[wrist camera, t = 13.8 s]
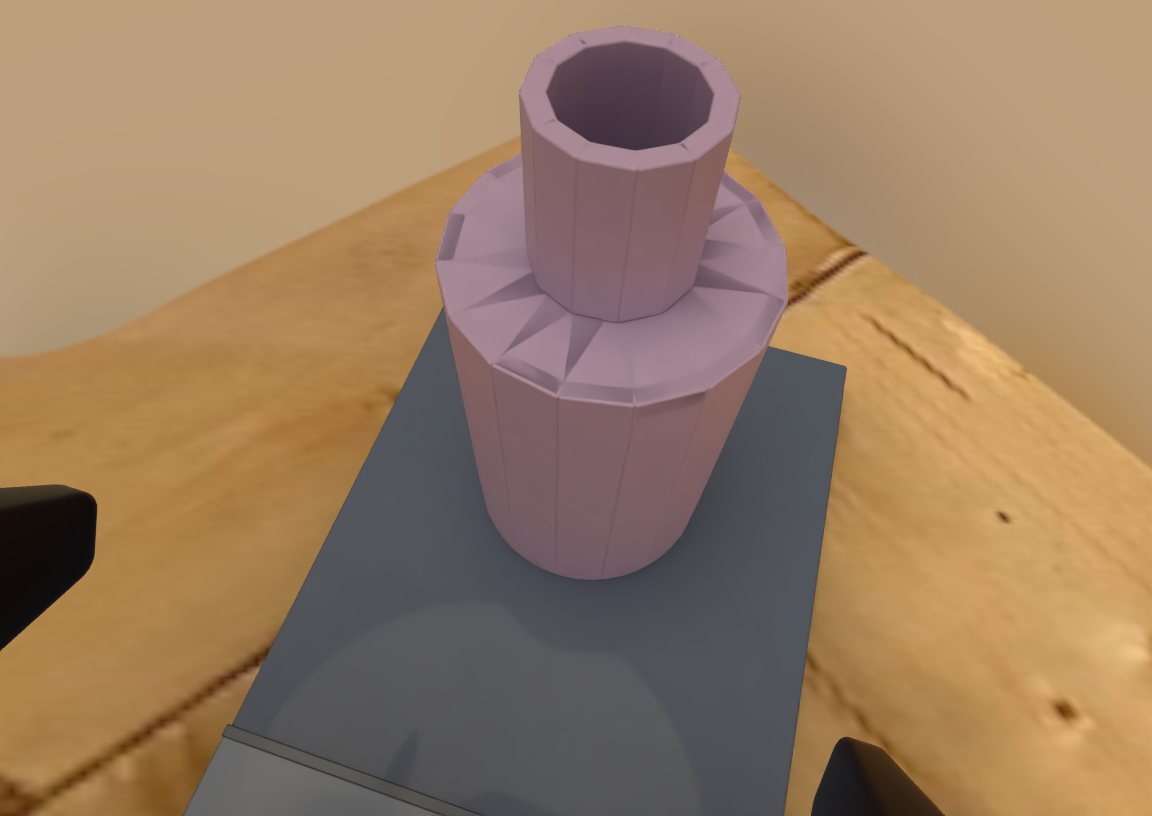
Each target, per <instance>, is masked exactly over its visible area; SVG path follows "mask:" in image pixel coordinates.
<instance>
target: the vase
mask: <svg viewBox="0 0 1152 816" xmlns="http://www.w3.org/2000/svg"><path fill="white" fill-rule="evenodd" d="M519 92H520V93H519V102H520V124H521V146H522V152H521V153H519V154H517V155H516V156H514V157H512V158H510V159H508V160H506V161H504V162H502V163H500V164H498V165H496V166H494V167H492V168H490V169H488V170H487V171H486V172H484V173H483V174H482V175H481V176H480V177H479V178H478V180H477V181H476V182H475V183H474V184H473V185H472V186H471V187H470V189H469V190H468V191H467V192H466V193H465V194H464V195H463V196H462V197H461V199H460V200H459V201H458V202H457V203H456V204H455V205H454V206H453V208H452V209H451V210H450V212H449V213H448V216H447V220H446V224H445V227H444V231H443V235H442V238H441V242H440V245H439V249H438V253H437V256H436V260H435V268H436V273H437V277H438V282H439V287H440V292H441V297H442V301H443V306H444V311H445V316H446V321H447V325H448V330H449V335H450V340H451V344H452V349H453V354H454V359H455V364H456V368H457V373H458V378H459V383H460V388H461V392H462V397H463V402H464V407H465V412H466V416H467V421H468V426H469V431H470V435H471V440H472V445H473V450H474V455H475V459H476V464H477V469H478V474H479V478H480V482H481V487H482V491H483V495H484V500H485V503H486V507H487V511H488V514H489V516H490V517H491V519H492V521H493V523H494V525H495V527H496V528H497V530H498V531H499V533H500V534H501V536H502V537H503V539H504V540H505V541H506V542H507V543H508V544H509V545H510V546H511V547H512V548H513V549H514V550H515V551H516V552H517V553H518V554H520V555H521V556H522V557H523V558H525V559H526V560H528V561H529V562H531V563H532V564H534V565H536V566H538V567H540V568H542V569H544V570H546V571H548V572H551V573H554V574H557V575H560V576H564V577H569V578H574V579H584V580H600V579H610V578H615V577H620V576H624V575H627V574H630V573H632V572H635V571H638V570H640V569H642V568H644V567H646V566H648V565H649V564H651V563H652V562H654V561H655V560H657V559H658V558H660V557H661V556H662V555H663V554H664V553H666V552H667V551H668V550H669V549H670V548H671V547H672V546H673V545H674V543H675V542H676V541H677V540H678V539H679V538H680V536H681V535H682V533H683V531H684V529H685V528H686V526H687V524H688V522H689V520H690V518H691V516H692V514H693V512H694V510H695V508H696V506H697V504H698V502H699V499H700V497H701V495H702V493H703V490H704V488H705V486H706V484H707V482H708V479H709V477H710V475H711V473H712V470H713V468H714V466H715V464H716V461H717V459H718V457H719V455H720V453H721V450H722V448H723V446H724V444H725V441H726V439H727V437H728V435H729V432H730V430H731V428H732V426H733V424H734V421H735V419H736V417H737V415H738V412H739V410H740V408H741V406H742V403H743V401H744V399H745V397H746V394H747V392H748V390H749V388H750V386H751V383H752V381H753V379H754V377H755V374H756V372H757V370H758V368H759V365H760V363H761V361H762V359H763V357H764V354H765V352H766V350H767V348H768V345H769V343H770V341H771V339H772V336H773V334H774V332H775V330H776V328H777V325H778V323H779V321H780V319H781V316H782V314H783V312H784V310H785V307H786V305H787V303H788V277H787V255H786V247H785V244H784V242H783V240H782V238H781V237H780V235H779V233H778V231H777V230H776V228H775V226H774V224H773V223H772V221H771V219H770V217H769V216H768V214H767V212H766V210H765V208H764V207H763V205H762V203H761V201H760V200H758V198H757V197H756V196H755V195H754V194H752V193H751V192H750V191H749V190H747V189H746V188H745V187H744V186H742V185H741V184H740V183H739V182H737V181H736V180H735V179H734V178H732V177H731V176H730V175H729V174H727V173H726V172H725V171H724V167H725V163H726V159H727V155H728V152H729V148H730V144H731V140H732V136H733V132H734V128H735V123H736V118H737V113H738V108H739V103H740V98H741V97H740V92H739V90H738V88H737V87H736V85H735V84H734V82H733V80H732V79H731V77H730V75H729V74H728V72H727V70H726V69H725V67H724V66H723V64H722V62H721V61H720V60H718V58H717V57H715V56H714V55H712V54H710V53H708V52H707V51H705V50H703V49H701V48H700V47H698V46H696V45H694V44H693V43H691V42H689V41H687V40H686V39H684V38H682V37H681V36H676V35H675V34H671V33H665V32H660V31H654V30H648V29H642V28H637V27H630V26H625V27H624V26H617V27H611V28H604V29H597V30H590V31H583V32H577V33H575V34H571V35H569V36H568V37H566V38H564V39H563V40H561V41H559V42H558V43H556V44H555V45H553V46H551V47H549V48H548V49H546V50H545V51H543V52H541V53H539V54H538V55H537V56H536V57H535V58H534V59H533V62H532V64H531V66H530V68H529V70H528V73H527V75H526V77H525V80H524V82H523V84H522V86H521V88H520V91H519Z"/></svg>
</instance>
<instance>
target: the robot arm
mask: <svg viewBox="0 0 1152 816" xmlns="http://www.w3.org/2000/svg"><path fill="white" fill-rule="evenodd" d="M96 521H97V504H96V501H95V499H94V497H93V496H92V495H91V494H89V493H87V492H84V491H81V490H78V489H74V488H71V487H68V486H65V485H40V486H26V487H11V488H0V651H1V650H2V649H3V648H4V647H5V646H6V645H7V644H8V643H10V642H11V641H12V640H13V639H14V638H15V637H16V636H17V635H18V634H20V633H21V632H22V631H23V630H24V629H25V628H26V627H27V626H29V625H30V624H31V623H32V622H33V621H34V620H35V619H36V618H37V617H39V616H40V615H41V614H42V613H43V612H44V611H45V610H46V609H47V608H49V607H50V606H51V605H52V604H53V603H54V602H55V601H56V600H57V599H59V598H60V597H61V596H62V595H63V594H64V593H65V592H66V591H67V590H69V589H70V588H71V587H72V586H73V585H74V584H75V583H76V582H78V581H79V580H80V579H81V578H82V577H83V576H84V575H85V574H86V572H87V571H88V570H89V568H90V566H91V564H92V562H93V559H94V554H95V538H96ZM811 816H945V815H944V814H943V813H942V812H941V811H940V810H939V809H938V808H937V806H936V805H935V804H934V803H933V802H932V801H931V800H930V799H929V798H928V797H927V796H926V795H925V794H924V793H923V792H922V790H921V789H920V788H919V787H918V786H917V785H916V784H915V783H914V782H913V781H912V780H911V779H910V778H909V777H908V775H907V774H906V773H905V772H904V771H903V770H902V769H901V768H900V767H899V766H898V765H897V764H896V763H895V762H894V760H893V759H892V758H891V757H890V756H889V755H888V754H887V753H886V752H885V751H884V750H883V749H881V748H880V747H878V746H875V745H872V744H869V743H866V742H862V741H859V740H856V739H853V738H850V737H844V738H842V739H840V740H839V741H838V742H837V744H836V745H835V747H834V750H833V752H832V755H831V757H830V760H829V762H828V765H827V767H826V770H825V772H824V775H823V777H822V780H821V782H820V785H819V788H818V790H817V793H816V795H815V798H814V802H813V807H812V813H811Z"/></svg>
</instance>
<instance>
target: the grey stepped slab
mask: <svg viewBox="0 0 1152 816" xmlns="http://www.w3.org/2000/svg"><path fill="white" fill-rule="evenodd" d="M846 370H847V368H846V366H843V365H839V364H835V363H831V362H827V361H823V360H820V359H816V358H812V357H808V356H804V355H800V354H796V353H793V352H789V351H785V350H781V349H777V348H773V347H770V346H768V348H767V350H766V352H765V354H764V357H763V359H762V361H761V363H760V365H759V368H758V370H757V372H756V374H755V377H754V379H753V381H752V383H751V386H750V388H749V390H748V392H747V394H746V397H745V399H744V401H743V403H742V406H741V408H740V410H739V412H738V415H737V417H736V419H735V421H734V424H733V426H732V428H731V430H730V432H729V435H728V437H727V439H726V441H725V444H724V446H723V448H722V450H721V453H720V455H719V457H718V459H717V461H716V464H715V466H714V468H713V470H712V473H711V475H710V477H709V479H708V482H707V484H706V486H705V488H704V490H703V493H702V495H701V497H700V499H699V502H698V504H697V506H696V508H695V510H694V512H693V514H692V516H691V518H690V520H689V522H688V524H687V526H686V528H685V529H684V531H683V533H682V535H681V536H680V538H679V539H678V540H677V541H676V542H675V543H674V545H673V546H672V547H671V548H670V549H669V550H668V551H667V552H666V553H664V554H663V555H662V556H661V557H660V558H658V559H657V560H655V561H654V562H652V563H651V564H649V565H648V566H646V567H644V568H642V569H640V570H638V571H635V572H632V573H630V574H627V575H624V576H620V577H615V578H610V579H600V580H584V579H574V578H569V577H564V576H560V575H557V574H554V573H551V572H548V571H546V570H544V569H542V568H540V567H538V566H536V565H534V564H532V563H531V562H529V561H528V560H526V559H525V558H523V557H522V556H521V555H520V554H518V553H517V552H516V551H515V550H514V549H513V548H512V547H511V546H510V545H509V544H508V543H507V542H506V541H505V540H504V539H503V537H502V536H501V534H500V533H499V531H498V530H497V528H496V527H495V525H494V523H493V521H492V519H491V517H490V516H489V514H488V511H487V507H486V503H485V500H484V495H483V491H482V487H481V482H480V478H479V474H478V469H477V464H476V459H475V455H474V450H473V445H472V440H471V435H470V431H469V426H468V421H467V416H466V412H465V407H464V402H463V397H462V392H461V388H460V383H459V378H458V373H457V368H456V364H455V359H454V354H453V349H452V344H451V340H450V335H449V330H448V325H447V321H446V316H445V311H444V306H443V308H442V310H441V312H440V314H439V316H438V318H437V320H436V322H435V324H434V326H433V328H432V330H431V332H430V334H429V336H428V338H427V340H426V342H425V344H424V346H423V348H422V350H421V352H420V354H419V356H418V358H417V360H416V362H415V364H414V366H413V368H412V370H411V372H410V373H409V375H408V377H407V379H406V381H405V383H404V385H403V387H402V389H401V391H400V393H399V395H398V397H397V399H396V401H395V403H394V405H393V407H392V409H391V411H390V413H389V415H388V417H387V419H386V421H385V423H384V425H383V427H382V429H381V431H380V433H379V435H378V437H377V439H376V441H375V443H374V445H373V447H372V449H371V451H370V453H369V455H368V457H367V459H366V461H365V463H364V465H363V466H362V468H361V470H360V472H359V474H358V476H357V478H356V480H355V482H354V484H353V486H352V488H351V490H350V492H349V494H348V496H347V498H346V500H345V502H344V504H343V506H342V508H341V510H340V512H339V514H338V516H337V518H336V520H335V522H334V524H333V526H332V528H331V530H330V532H329V534H328V536H327V538H326V540H325V542H324V544H323V546H322V548H321V550H320V552H319V554H318V556H317V558H316V560H315V561H314V563H313V565H312V567H311V569H310V571H309V573H308V575H307V577H306V579H305V581H304V583H303V585H302V587H301V589H300V591H299V593H298V595H297V597H296V599H295V601H294V603H293V605H292V607H291V609H290V611H289V613H288V615H287V617H286V619H285V621H284V623H283V625H282V627H281V629H280V631H279V633H278V635H277V637H276V639H275V641H274V643H273V645H272V647H271V649H270V651H269V653H268V654H267V656H266V658H265V660H264V662H263V664H262V666H261V668H260V670H259V672H258V674H257V676H256V678H255V680H254V682H253V684H252V686H251V688H250V690H249V692H248V694H247V696H246V698H245V700H244V702H243V704H242V706H241V708H240V710H239V712H238V714H237V716H236V718H235V720H234V722H233V724H232V725H230V724H228V725H227V726H226V728H225V730H224V732H223V734H222V736H223V737H222V739H221V741H220V743H219V745H218V747H217V749H216V751H215V753H214V755H213V757H212V759H211V761H210V763H209V765H208V767H207V769H206V771H205V773H204V775H203V777H202V779H201V781H200V782H199V784H198V786H197V788H196V790H195V792H194V794H193V796H192V798H191V800H190V802H189V804H188V806H187V808H186V810H185V812H184V814H183V816H784V811H785V804H786V797H787V789H788V782H789V775H790V768H791V761H792V754H793V747H794V740H795V733H796V725H797V718H798V711H799V704H800V697H801V690H802V683H803V676H804V669H805V661H806V654H807V647H808V640H809V633H810V626H811V619H812V612H813V605H814V597H815V590H816V583H817V576H818V569H819V562H820V555H821V548H822V541H823V533H824V526H825V519H826V512H827V505H828V498H829V491H830V484H831V477H832V469H833V462H834V455H835V448H836V441H837V434H838V427H839V420H840V413H841V405H842V398H843V391H844V384H845V377H846Z"/></svg>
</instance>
